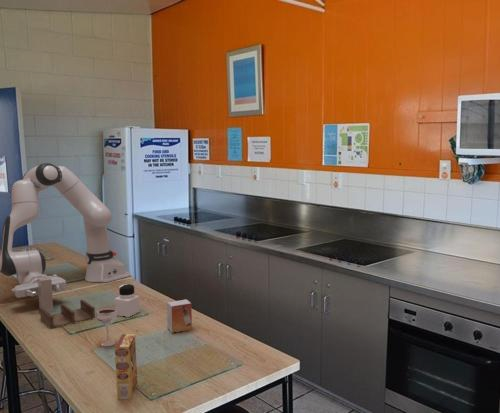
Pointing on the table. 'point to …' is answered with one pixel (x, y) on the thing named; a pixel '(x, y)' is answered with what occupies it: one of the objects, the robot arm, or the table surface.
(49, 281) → the tall gray rectangular block
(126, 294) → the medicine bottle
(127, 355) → the candy box
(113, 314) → the wineglass
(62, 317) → the rack
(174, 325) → the small box
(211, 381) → the table surface
